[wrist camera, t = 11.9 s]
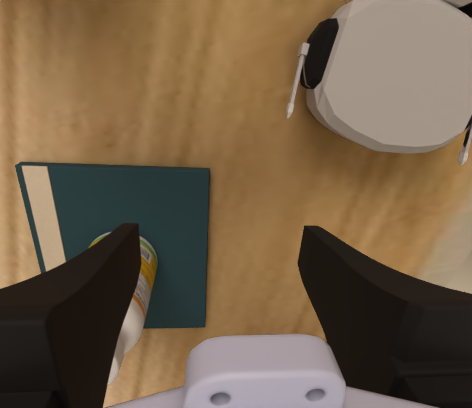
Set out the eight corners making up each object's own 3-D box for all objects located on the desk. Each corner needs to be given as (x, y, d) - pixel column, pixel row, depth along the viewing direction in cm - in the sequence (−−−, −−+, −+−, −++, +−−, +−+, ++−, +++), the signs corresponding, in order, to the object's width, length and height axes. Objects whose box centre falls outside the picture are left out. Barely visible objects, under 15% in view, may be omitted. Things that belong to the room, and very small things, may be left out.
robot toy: (349, -163, 17) (268, 119, 22) (399, -245, 13) (285, 127, 17) (531, -78, 19) (421, 160, 24) (625, -124, 15) (468, 176, 20)
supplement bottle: (94, 287, 26) (36, 406, 17) (81, 229, 23) (6, 333, 15) (161, 284, 26) (138, 399, 17) (155, 227, 24) (125, 327, 15)
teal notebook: (205, 321, 29) (205, 328, 29) (58, 323, 28) (54, 331, 27) (209, 167, 23) (209, 171, 22) (20, 161, 22) (13, 165, 21)
